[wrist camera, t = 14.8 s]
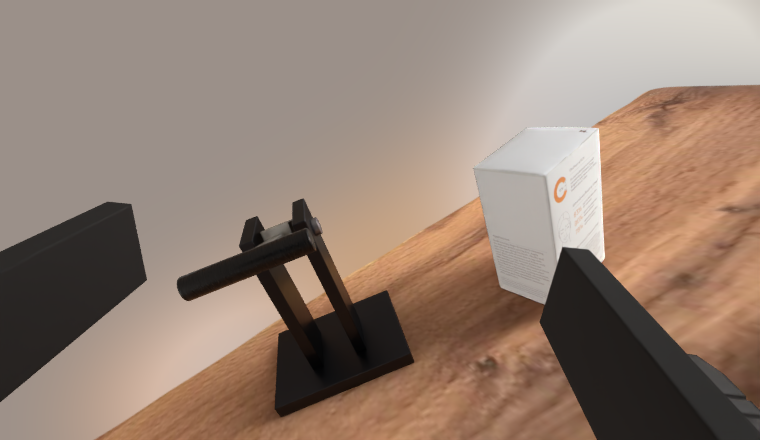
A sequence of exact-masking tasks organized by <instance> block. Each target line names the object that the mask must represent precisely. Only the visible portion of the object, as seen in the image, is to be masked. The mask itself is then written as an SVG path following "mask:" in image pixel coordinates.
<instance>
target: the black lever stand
mask: <svg viewBox="0 0 760 440" xmlns="http://www.w3.org/2000/svg"><path fill="white" fill-rule="evenodd" d="M292 211H293V212H292V226H293V228H294V230H295V232H297V231H299V230H302V229H304V228H308V229H309V230H310V232H311V234H312V236H313V239H314V241H315V244H316V251H315V252H313V253H310V254H307V256H308V258H309V260H310V262H311V264H312V266H313V268H314V270H315V272H316V274H317V276H318V278H319V280H320V282H321V284H322V286H323V288H324V290H325V292H326V294H327V296H328V298H329V300H330V302H331V304H332V306H333V308H334V310H335V311H334V312H331V313H329V314H326V315H324V316H321V317H319V318H316V319H313V317H312V315H311V314H310V312H309V310H308V308H307V306H306V304H305V303H304V301H303V299H302V297H301V295H300V293H299V292H298V290H297V288H296V286H295V284H294V282H293V281H292V279H291V277H290V275H289V273H288V272H287V270H286V268H285V266H284V264H282V265H280V266H277V267H274V268H272V269H269V270H267V271H264V272H262V273H259V274H257V277H258V278H259V280H260V282H261V284H262V285H263V287H264V289H265V290H266V292H267V294H268V295H269V297H270V299H271V300H272V302H273V304H274V305H275V307H276V309H277V311H278V312H279V314H280V315H281V317H282V319H283V321H284V322H285V324H286V326H287V327H288V329H289V330H286V331H284V332H282V333H279V337H278V356H277V375H276V394H275V410H276V411H277V413H278V414H279V415H280V417H283V416H285V415H288V414H290V413H292V412H295V411H297V410H300V409H302V408H305V407H307V406H309V405H312V404H314V403H317V402H319V401H321V400H324V399H326V398H329V397H331V396H334V395H336V394H338V393H341V392H343V391H346V390H348V389H351V388H353V387H355V386H358V385H360V384H363V383H365V382H368V381H370V380H372V379H375V378H377V377H380V376H382V375H384V374H387V373H389V372H392V371H394V370H397V369H399V368H401V367H404V366H406V365H409V364H411V363H414V360H413V357H412V354H411V352H410V349H409V346H408V344H407V341H406V339H405V336H404V333H403V331H402V328H401V325H400V323H399V320H398V318H397V315H396V312H395V310H394V307H393V304H392V302H391V299H390V297H389V294H388V292H387V290H386V291H383V292H381V293H378V294H376V295H373V296H371V297H368V298H366V299H364V300H361V301H359V302H356V303H354V304H353V303H352V301H351V299H350V297H349V295H348V293H347V290H346V288H345V286H344V284H343V282H342V280H341V277H340V275H339V274H338V271H337V269H336V267H335V265H334V262H333V260H332V258H331V256H330V254H329V252H328V250H327V248H326V245H325V243H324V241H323V239H322V237H321V235H320V234H322V233H323V232H322V229H321V226H320V223H319V221H318V219H317V218H316V217H315V218H313V217H312V216H311V213H310V211H309V209H308V207H307V204H306V202H305V200H304V199H300V200H298V201H295V202H293V206H292ZM264 230H265V229H264V227H263V226H262V224H261V222H260V220H259V218H258V217H257V216H256V217H253V218H251V219H248V220H246V222H245V226H244V229H243V233H242V237H241V241H240V244H239V247H240V249H241V250H242V252H245V251H248V250H251V249H253V248H255V247H257V246H258V245H260V244H262V243H264V240H263V238H262V236H261V233H260V232H262V231H264Z"/></svg>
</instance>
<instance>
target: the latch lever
mask: <svg viewBox="0 0 760 440" xmlns="http://www.w3.org/2000/svg"><path fill="white" fill-rule="evenodd" d="M260 233H261V236H262V238H263V240H264V243H262V244H260V245H258V246H257V247H255V248H253V249H251V250H248V251H245V252H243V253H240V254H238V255H235V256H233V257H230V258H228V259H225V260H222V261H220V262H217V263H215V264H212V265H210V266H207V267H204V268H202V269H199V270H197V271H195V272H192V273H189V274H187V275H184V276H181V277H180V278H179V279H178V280H177V288H178V291H179V294H180V295H181V297H182V298H183V299H184V300H186V301H191V300H193V299H196V298H198V297H201V296H203V295H206V294H208V293H211V292H213V291H216V290H219V289H221V288H224V287H226V286H229V285H231V284H234V283H236V282H239V281H241V280H244V279H247V278H249V277H252V276H254V275H257V274H259V273H262V272H264V271H267V270H269V269H272V268H274V267H277V266H280V265H282V264H285V263H287V262H290V261H292V260H295V259H297V258H299V257H302V256H305V255H307V254H310V253H313V252H315V251H316V244H315V241H314V239H313V236H312V234H311V232H310V230H309V229H308V228H304V229H302V230H299V231H297V232H295V230H294V228H293V226H292V220H289V221H287V222H284V223H282V224H279V225H276V226H274V227H271V228H268V229H266V230H264V231H262V232H260Z"/></svg>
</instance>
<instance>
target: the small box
mask: <svg viewBox="0 0 760 440" xmlns="http://www.w3.org/2000/svg"><path fill="white" fill-rule="evenodd" d="M473 169H474V173H475V177H476V182H477V187H478V191H479V196H480V200H481V204H482V209H483V213H484V218H485V222H486V227H487V231H488V236H489V240H490V245H491V249H492V254H493V258H494V263H495V267H496V272H497V276H498V281H499V285H500V287H501V288H502V289H505V290H508V291H511V292H513V293H516V294H518V295H521V296H524V297H526V298H529V299H531V300H534V301H536V302H539V303H542V304H544V305H545V303H546V299H547V296H548V293H549V289H550V286H551V283H552V279H553V276H554V273H555V270H556V266H557V263H558V260H559V256H560V253H561V250H562V247H569V248H579V249H589V250H590V251H591V252H592V253H593V254H594V255H595V257H596V258H597V259H598V260H599V261H600V262H602V261H603V260H604V258H605V253H604V234H603V216H602V189H601V166H600V143H599V129H598V128H585V127H530V128H525V129H524V130H523V131H521V132H520V133H519V134H517V135H516V136H515V137H514V138H512V139H511V140H510V141H508V142H507V143H506V144H504V145H503V146H502V147H500V148H499V149H498V150H496V151H495V152H494V153H492V154H491V155H490V156H488V157H487V158H486V159H484V160H483V161H482V162H481V163H479V164H478V165H476V166H475V167H474V168H473Z"/></svg>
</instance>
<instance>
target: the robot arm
mask: <svg viewBox="0 0 760 440" xmlns="http://www.w3.org/2000/svg"><path fill="white" fill-rule="evenodd" d="M146 280H147V278H146V274H145V269H144V264H143V259H142V254H141V249H140V244H139V239H138V234H137V230H136V225H135V220H134V215H133V210H132V206H131V204H125V203H115V202H106V203H104V204H102V205H100V206H97V207H95V208H93V209H91V210H89V211H87V212H85V213H82V214H80V215H78V216H76V217H74V218H72V219H70V220H67V221H65V222H63V223H61V224H59V225H57V226H54V227H52V228H50V229H48V230H46V231H44V232H42V233H40V234H37V235H35V236H33V237H31V238H29V239H27V240H25V241H23V242H20V243H18V244H16V245H14V246H12V247H9V248H7V249H5V250H3V251H1V252H0V402H1V401H2V400H3V399H5V398H6V397H7V396H8V395H9V394H11V393H12V392H13V391H14V390H15V389H16V388H18V387H19V386H20V385H21V384H23V383H24V382H25V381H26V380H27V379H29V378H30V377H31V376H32V375H33V374H35V373H36V372H37V371H38V370H39V369H41V368H42V367H43V366H44V365H45V364H47V363H48V362H49V361H50V360H51V359H52V358H54V357H55V356H56V355H57V354H58V353H60V352H61V351H62V350H64V349H65V348H66V347H67V346H68V345H69V344H71V343H72V342H73V341H74V340H76V339H77V338H78V337H79V336H80V335H81V334H83V333H84V332H85V331H86V330H87V329H89V328H90V327H91V326H92V325H93V324H95V323H96V322H97V321H98V320H99V319H101V318H102V317H103V316H104V315H105V314H107V313H108V312H109V311H110V310H111V309H113V308H114V307H115V306H116V305H118V304H119V303H120V302H121V301H122V300H124V299H125V298H126V297H127V296H128V295H129V294H130V293H132V292H133V291H134V290H135V289H137V288H138V287H139V286H140V285H142V284H143V283H144V282H145V281H146ZM540 324H541V326H542V328H543V330H544V332H545V334H546V336H547V338H548V340H549V343H550V345H551V347H552V349H553V351H554V353H555V355H556V357H557V359H558V361H559V363H560V365H561V367H562V369H563V371H564V373H565V375H566V377H567V379H568V381H569V383H570V385H571V387H572V390H573V392H574V394H575V396H576V398H577V400H578V402H579V404H580V406H581V408H582V410H583V412H584V414H585V416H586V418H587V420H588V422H589V424H590V426H591V428H592V430H593V432H594V435H595V437H596V439H597V440H760V410H759V409H758V408H757V407H756V406H755V405H754V404H753V403H752V402H751V401H747V400H746V396H745V395H744V394H743V393H742V392H741V391H740V390H739V389H738V388H737V387H736V386H735V385H734V384H733V383H732V382H731V381H730V380H729V379H728V378H727V377H726V376H725V375H724V374H723V373H721V372H720V371H718V370H717V369H716V368H714V367H713V366H711V365H710V364H708V363H707V362H705V361H704V360H703V359H701V358H700V357H698V356H697V355H692V354H686V353H685V352H684V350H683V349H682V348H681V347H680V346H679V345H678V344H677V343H676V342H675V341H674V340H673V339H672V338H671V337H670V336H669V334H668V333H667V332H666V331H665V330H664V329H663V328H662V327H661V326H660V325H659V324H658V323H657V322H656V321H655V320H654V318H653V317H652V316H651V315H650V314H649V313H648V312H647V311H646V310H645V309H644V308H643V307H642V306H641V305H640V304H639V302H638V301H637V300H636V299H635V298H634V297H633V296H632V295H631V294H630V293H629V292H628V291H627V290H626V289H625V288H624V286H623V285H622V284H621V283H620V282H619V281H618V280H617V279H616V278H615V277H614V276H613V275H612V274H611V273H610V272H609V270H608V269H607V268H606V267H605V266H604V265H603V264H602V263H601V262H600V261H599V260H598V259H597V258H596V257H595V255H594V254H593V253H592V252H591V251H590V250H589V249H579V248H569V247H562V250H561V253H560V256H559V260H558V263H557V266H556V270H555V273H554V276H553V279H552V283H551V286H550V289H549V293H548V296H547V299H546V303H545V306H544V309H543V313H542V316H541V319H540Z"/></svg>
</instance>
